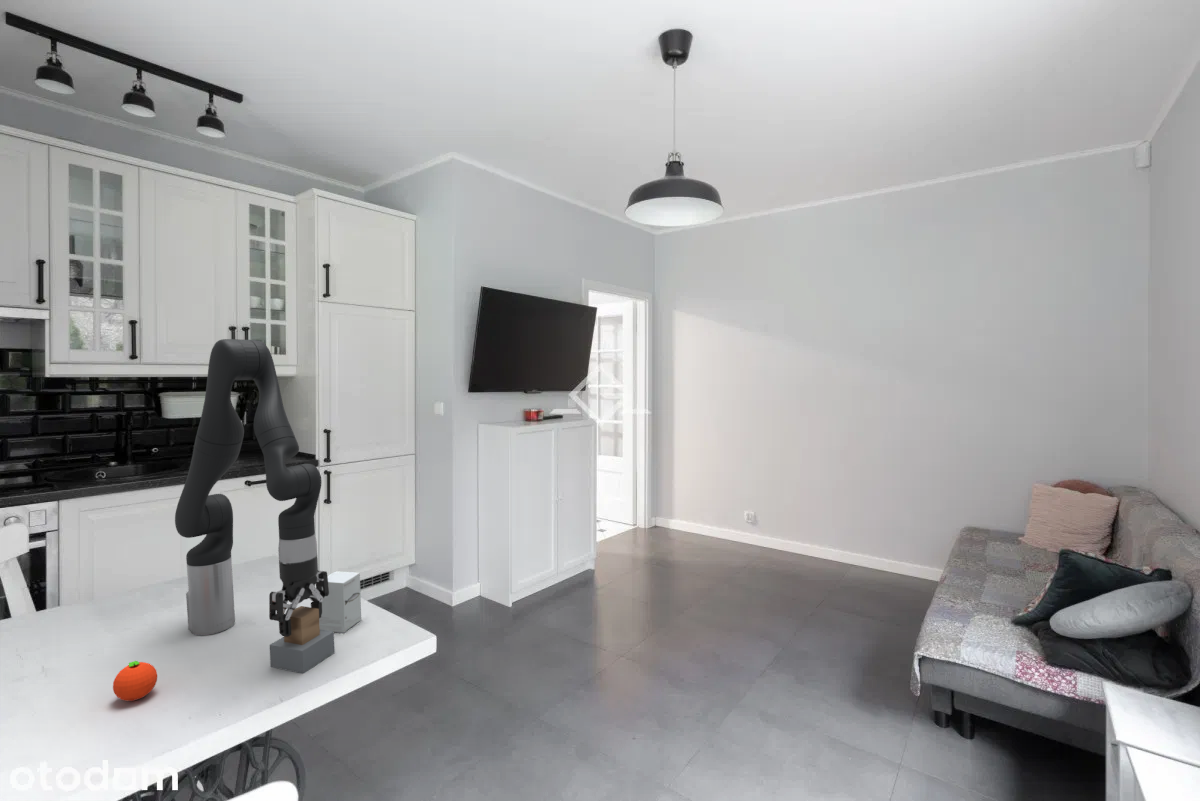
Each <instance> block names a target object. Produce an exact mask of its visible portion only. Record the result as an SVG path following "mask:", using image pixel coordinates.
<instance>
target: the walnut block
mask: <svg viewBox="0 0 1200 801" xmlns="http://www.w3.org/2000/svg"><path fill="white" fill-rule="evenodd" d="M290 619H291V635H290V636H288V637H285V636H283V637H284V642H288V643H293V644H299V645H303V644H305V643H307V642H308V641H310V640H312V639H313V638H315V637H317V636H318V635H320V626H319V609H317V608H311V606H302V605H300V606H297V607H296V609H295V610H293V612H292V614H291V616H290Z"/></svg>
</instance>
